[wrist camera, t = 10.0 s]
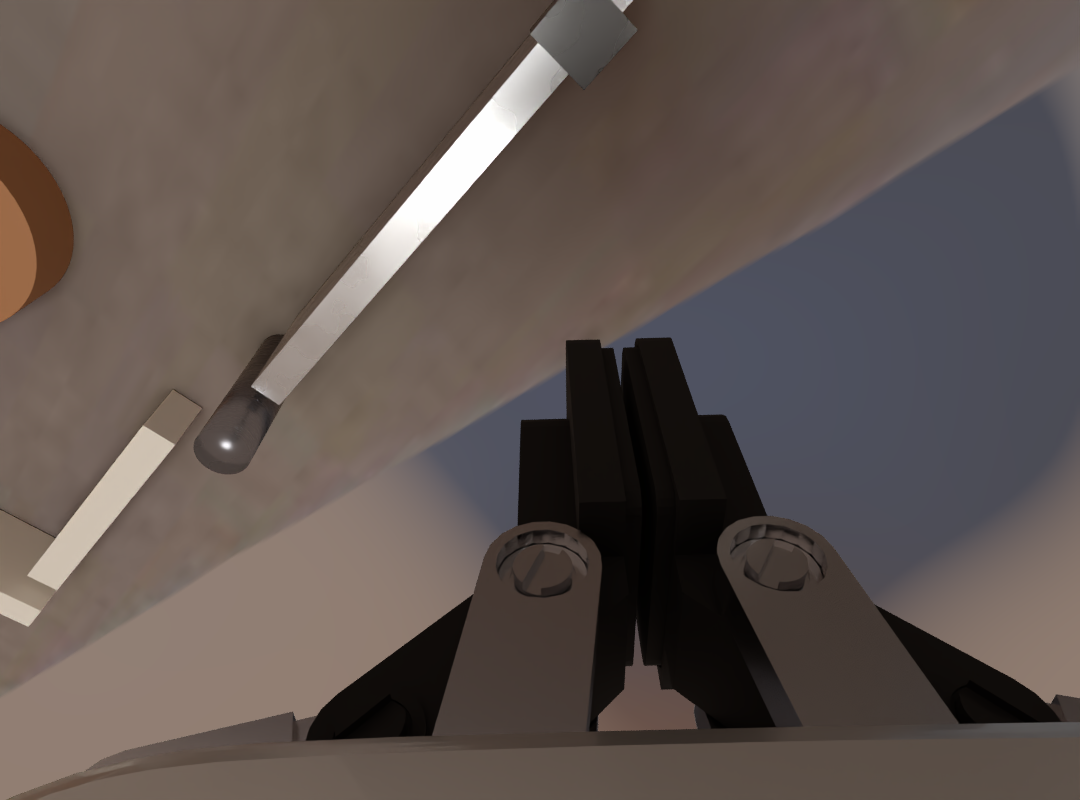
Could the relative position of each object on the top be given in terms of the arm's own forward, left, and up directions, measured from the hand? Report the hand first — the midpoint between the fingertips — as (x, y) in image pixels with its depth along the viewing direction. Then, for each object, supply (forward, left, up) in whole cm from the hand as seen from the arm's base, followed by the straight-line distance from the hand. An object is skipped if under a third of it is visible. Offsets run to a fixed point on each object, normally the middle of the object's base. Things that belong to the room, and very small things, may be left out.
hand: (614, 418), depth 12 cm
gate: (+4, -3, -19) cm, 19 cm away
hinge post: (+15, -3, -19) cm, 24 cm away
